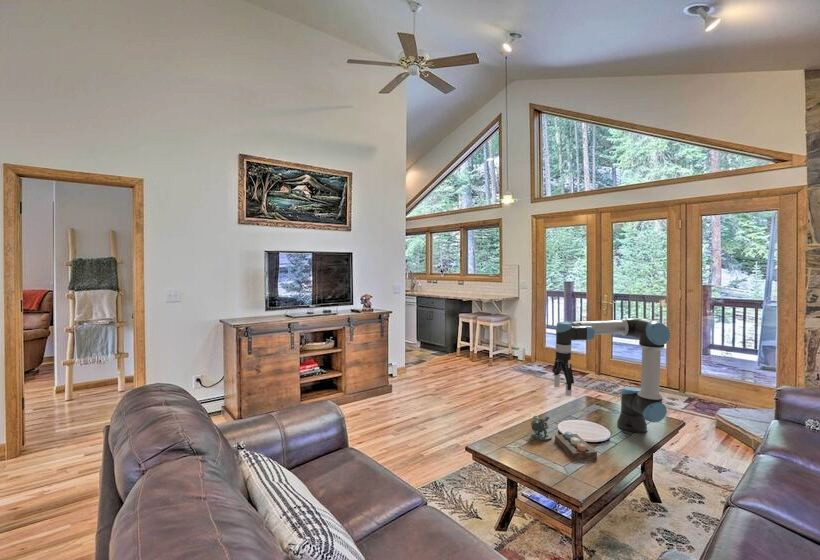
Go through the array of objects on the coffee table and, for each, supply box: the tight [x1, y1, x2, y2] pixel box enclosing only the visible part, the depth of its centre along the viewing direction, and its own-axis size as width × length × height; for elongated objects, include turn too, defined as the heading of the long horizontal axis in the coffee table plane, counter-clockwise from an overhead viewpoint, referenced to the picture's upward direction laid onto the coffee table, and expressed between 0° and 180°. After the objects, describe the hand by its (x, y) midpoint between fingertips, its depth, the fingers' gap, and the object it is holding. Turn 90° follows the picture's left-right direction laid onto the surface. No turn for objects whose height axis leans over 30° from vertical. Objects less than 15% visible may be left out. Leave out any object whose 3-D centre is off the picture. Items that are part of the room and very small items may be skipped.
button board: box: [554, 433, 598, 461], centre depth 207 cm, size 12×20×4 cm, turn 5°
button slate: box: [564, 431, 574, 440], centre depth 213 cm, size 4×4×3 cm
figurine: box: [530, 415, 553, 442], centre depth 221 cm, size 11×11×12 cm
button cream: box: [570, 437, 580, 446], centre depth 206 cm, size 4×4×3 cm
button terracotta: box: [577, 443, 587, 452], centre depth 200 cm, size 4×4×3 cm
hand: (562, 391), depth 213 cm, fingers open, 13 cm apart
